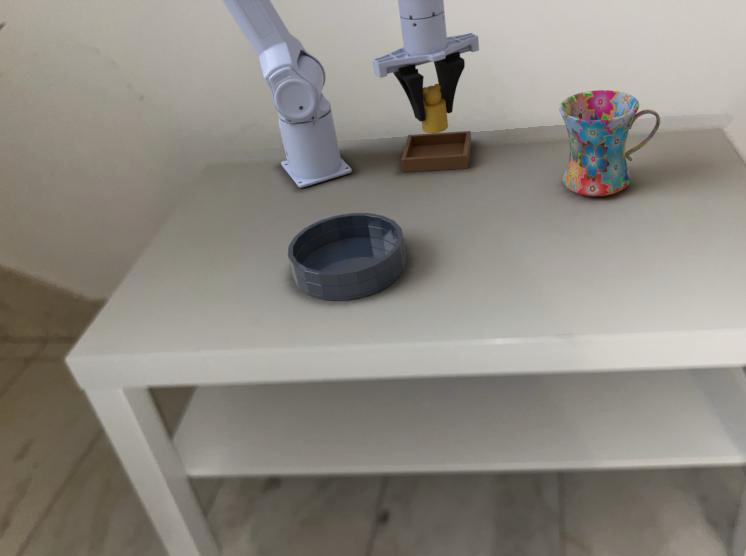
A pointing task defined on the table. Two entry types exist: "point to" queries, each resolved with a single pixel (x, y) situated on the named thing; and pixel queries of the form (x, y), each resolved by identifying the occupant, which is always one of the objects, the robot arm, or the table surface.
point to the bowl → (347, 256)
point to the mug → (600, 140)
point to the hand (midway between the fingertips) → (433, 114)
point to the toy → (434, 110)
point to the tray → (437, 151)
